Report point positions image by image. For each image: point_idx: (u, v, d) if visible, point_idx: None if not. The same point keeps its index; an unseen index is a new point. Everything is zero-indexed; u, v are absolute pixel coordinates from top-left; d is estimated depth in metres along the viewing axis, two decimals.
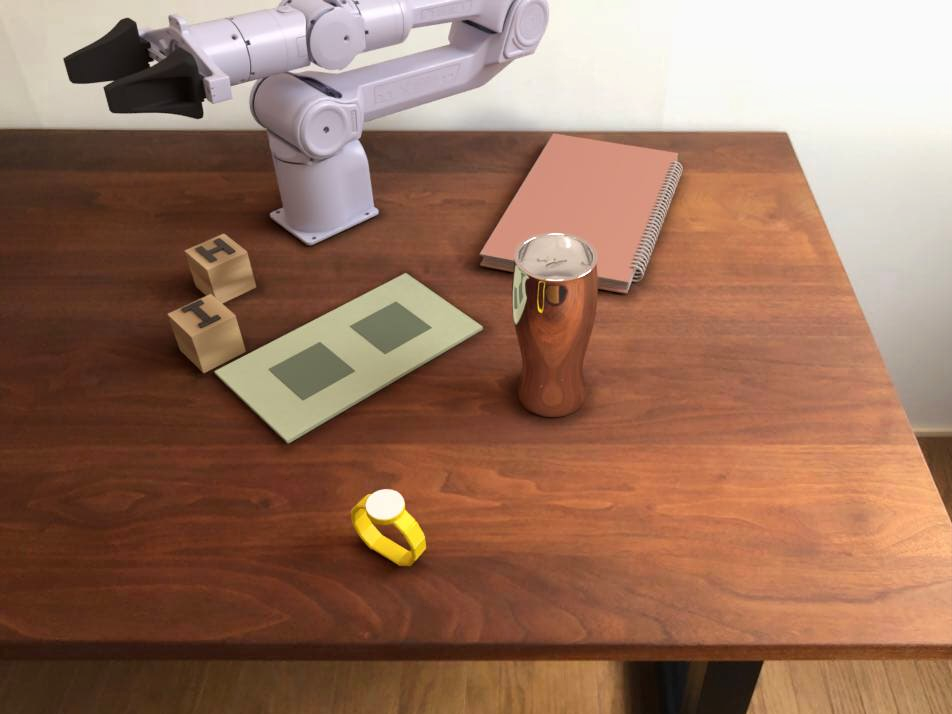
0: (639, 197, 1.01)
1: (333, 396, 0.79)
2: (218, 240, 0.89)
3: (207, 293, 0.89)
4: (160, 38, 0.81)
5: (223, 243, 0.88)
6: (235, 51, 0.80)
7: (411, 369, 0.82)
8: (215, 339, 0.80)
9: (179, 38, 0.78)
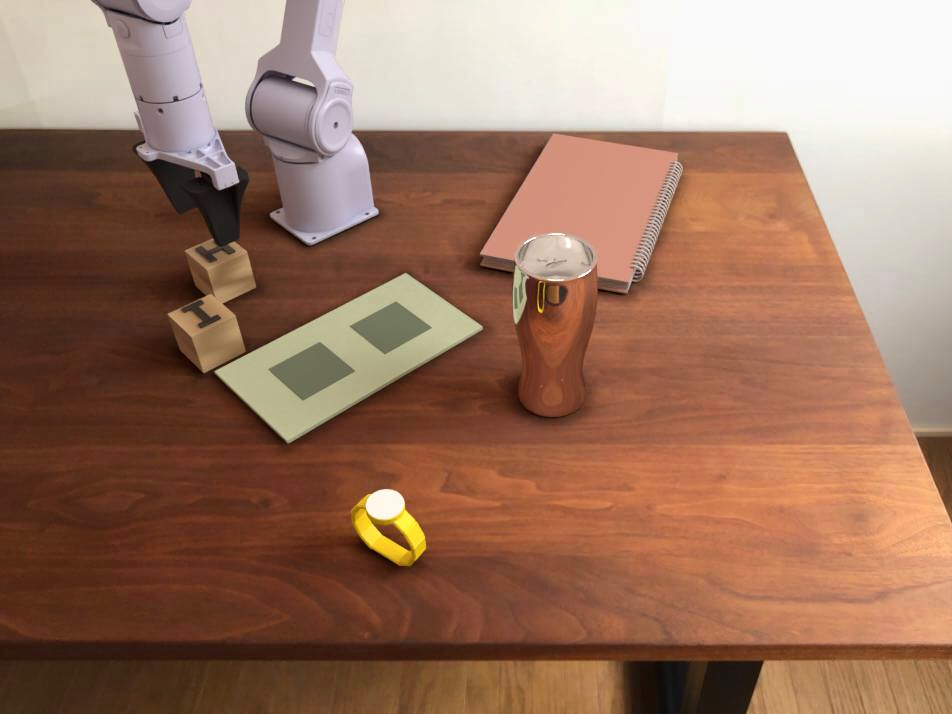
0: (639, 197, 1.01)
1: (333, 396, 0.79)
2: None
3: (207, 293, 0.89)
4: None
5: None
6: (175, 114, 0.75)
7: (411, 369, 0.82)
8: (215, 339, 0.80)
9: None
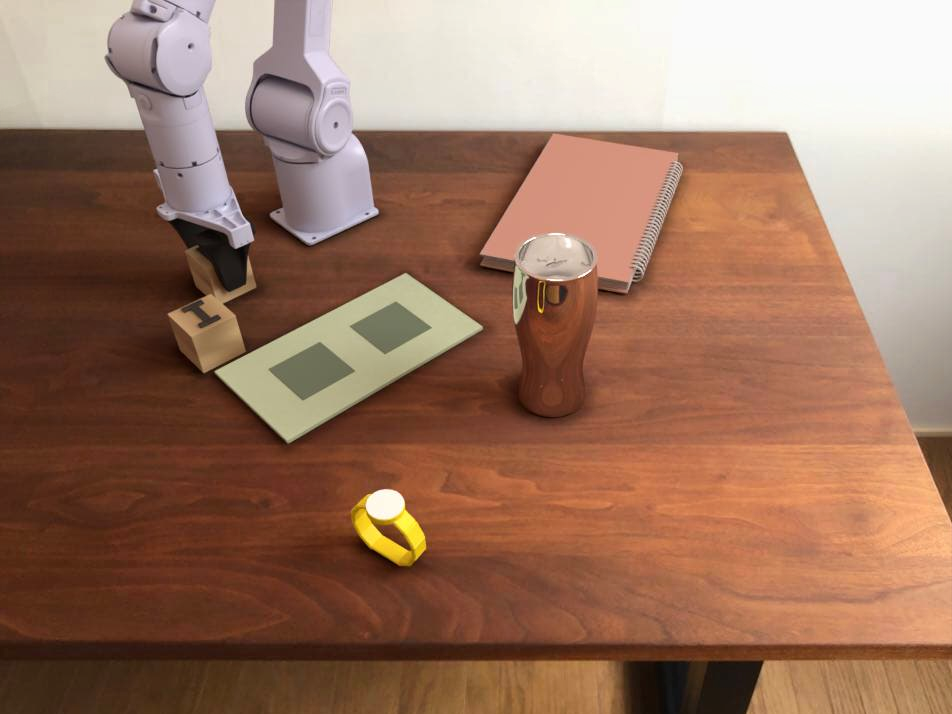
0: (639, 197, 1.01)
1: (333, 396, 0.79)
2: None
3: (207, 293, 0.89)
4: None
5: None
6: (194, 177, 0.79)
7: (411, 369, 0.82)
8: (215, 339, 0.80)
9: None
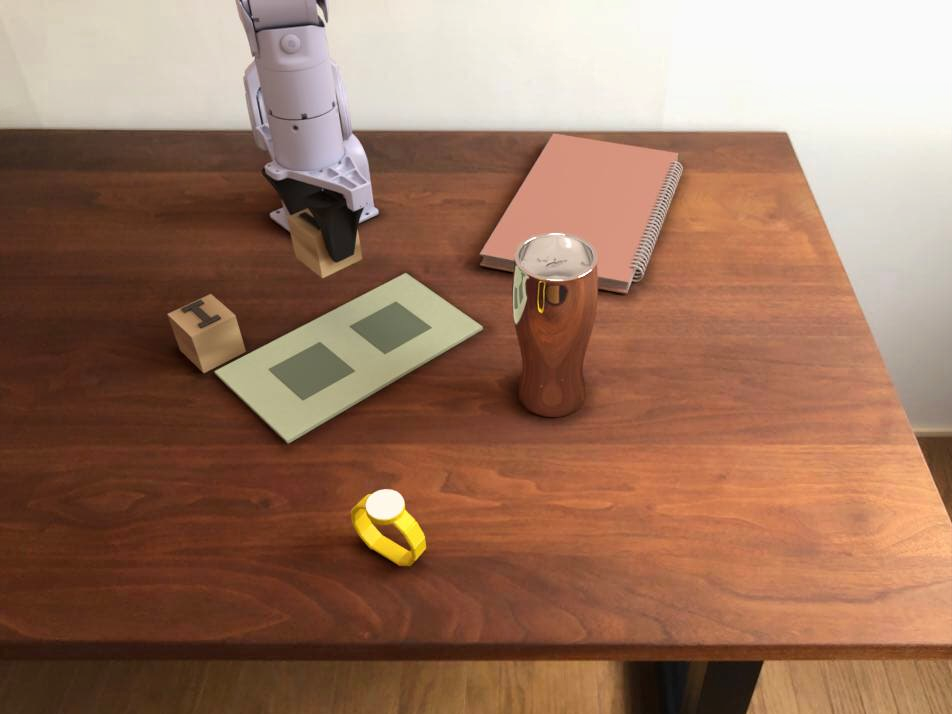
0: (639, 197, 1.01)
1: (333, 396, 0.79)
2: None
3: (310, 264, 0.81)
4: None
5: None
6: (311, 131, 0.71)
7: (411, 369, 0.82)
8: (215, 339, 0.80)
9: None
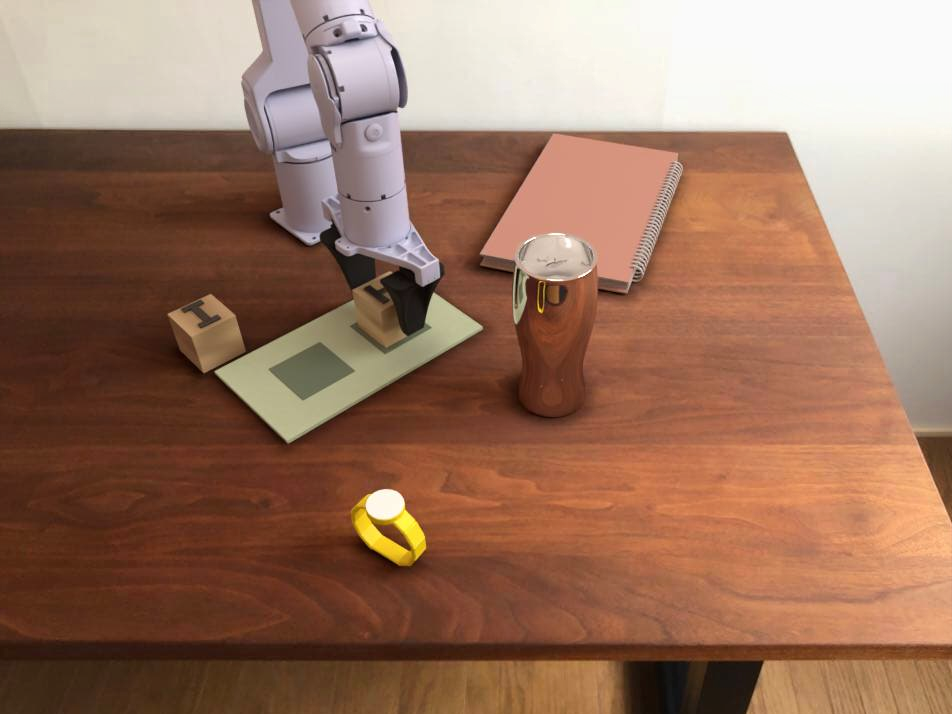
0: (639, 197, 1.01)
1: (333, 396, 0.79)
2: None
3: (374, 334, 0.84)
4: None
5: None
6: (382, 211, 0.74)
7: (411, 369, 0.82)
8: (215, 339, 0.80)
9: None
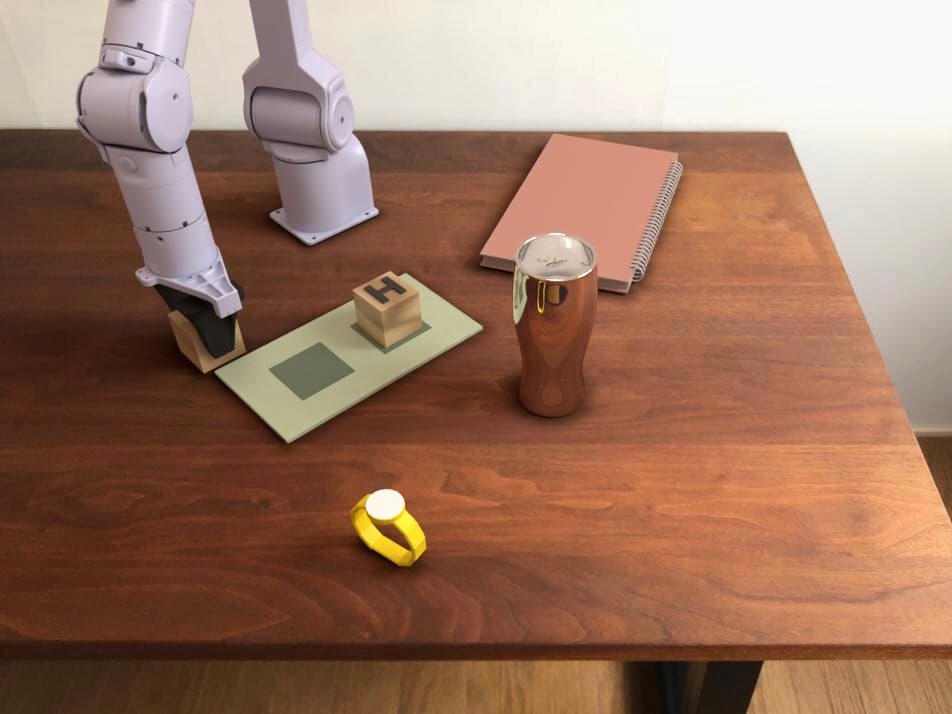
0: (639, 197, 1.01)
1: (333, 396, 0.79)
2: (386, 278, 0.84)
3: (374, 334, 0.84)
4: None
5: (392, 282, 0.83)
6: (176, 241, 0.72)
7: (411, 369, 0.82)
8: None
9: None
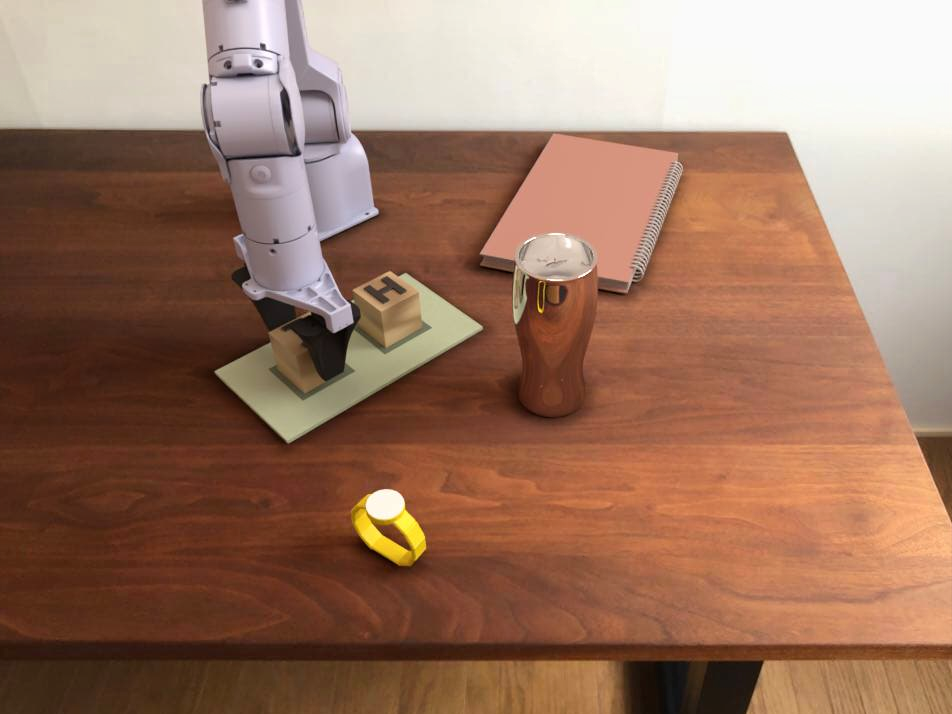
0: (639, 197, 1.01)
1: (333, 396, 0.79)
2: (386, 278, 0.84)
3: (374, 334, 0.84)
4: None
5: (392, 282, 0.83)
6: (288, 253, 0.69)
7: (411, 369, 0.82)
8: None
9: None
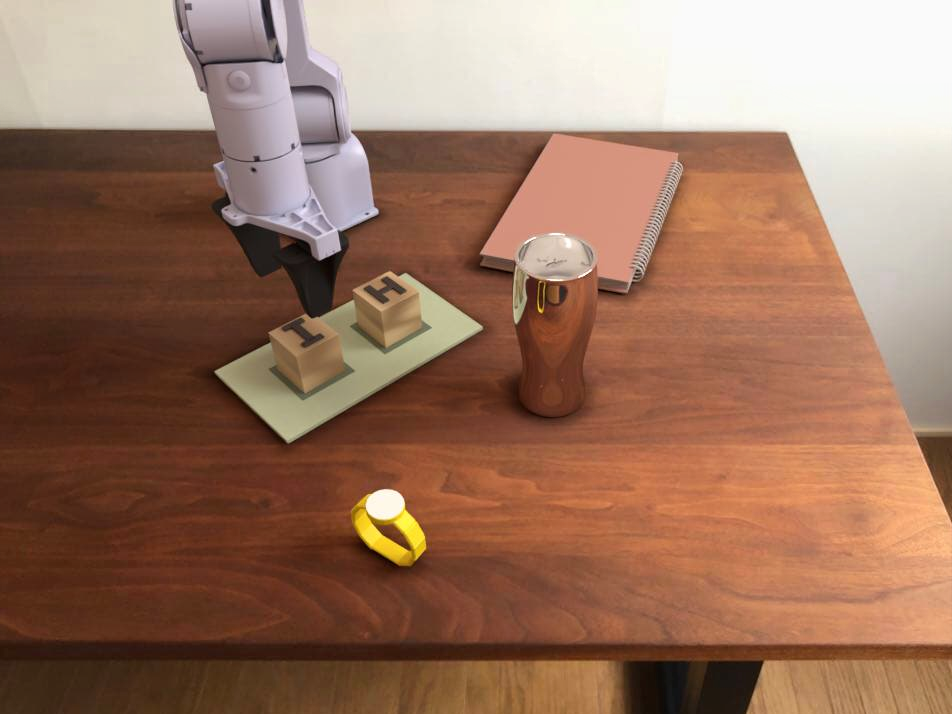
0: (639, 197, 1.01)
1: (333, 396, 0.79)
2: (386, 278, 0.84)
3: (374, 334, 0.84)
4: None
5: (392, 282, 0.83)
6: (270, 173, 0.65)
7: (411, 369, 0.82)
8: (318, 358, 0.78)
9: None
